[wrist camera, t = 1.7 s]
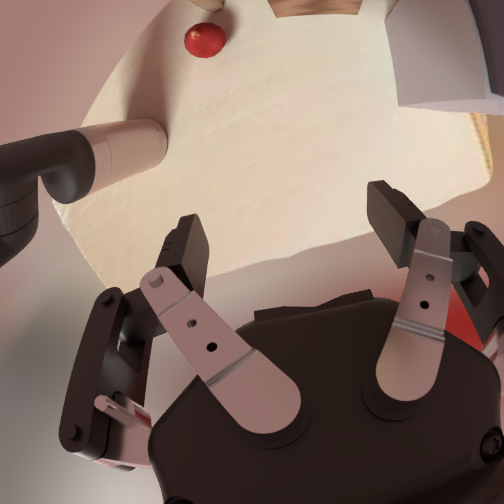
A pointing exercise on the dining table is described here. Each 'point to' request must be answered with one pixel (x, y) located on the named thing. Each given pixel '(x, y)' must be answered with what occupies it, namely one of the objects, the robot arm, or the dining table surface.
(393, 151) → the dining table surface
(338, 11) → the shelf block
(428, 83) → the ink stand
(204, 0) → the handle
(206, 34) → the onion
